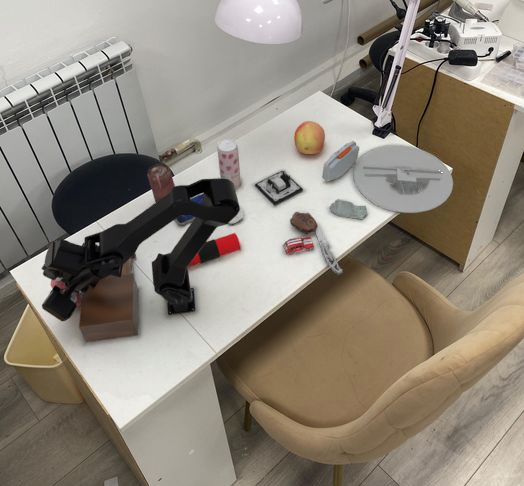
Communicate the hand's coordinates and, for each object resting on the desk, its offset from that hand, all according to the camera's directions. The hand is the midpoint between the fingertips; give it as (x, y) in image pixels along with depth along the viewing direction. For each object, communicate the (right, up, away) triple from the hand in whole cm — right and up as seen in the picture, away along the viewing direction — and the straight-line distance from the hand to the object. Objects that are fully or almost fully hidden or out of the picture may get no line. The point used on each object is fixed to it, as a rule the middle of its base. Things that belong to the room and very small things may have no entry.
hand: (61, 288), depth 130 cm
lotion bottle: (+2, -4, +3) cm, 5 cm away
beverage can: (+38, +25, +31) cm, 55 cm away
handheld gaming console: (+70, +28, +33) cm, 82 cm away
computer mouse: (+38, +17, +23) cm, 47 cm away
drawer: (+10, +2, +8) cm, 13 cm away
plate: (+88, +27, +31) cm, 96 cm away
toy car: (+56, +8, +14) cm, 58 cm away
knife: (+65, +9, +13) cm, 67 cm away
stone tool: (+71, +20, +23) cm, 78 cm away
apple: (+60, +35, +34) cm, 77 cm away
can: (+21, +18, +24) cm, 37 cm away
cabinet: (+12, -6, +1) cm, 14 cm away
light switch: (+49, +28, +31) cm, 64 cm away
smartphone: (+29, +18, +24) cm, 42 cm away
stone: (+57, +13, +19) cm, 62 cm away
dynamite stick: (+41, +10, +12) cm, 44 cm away
